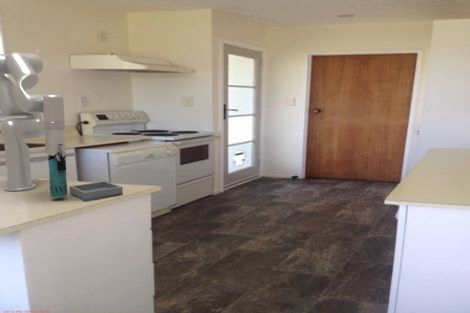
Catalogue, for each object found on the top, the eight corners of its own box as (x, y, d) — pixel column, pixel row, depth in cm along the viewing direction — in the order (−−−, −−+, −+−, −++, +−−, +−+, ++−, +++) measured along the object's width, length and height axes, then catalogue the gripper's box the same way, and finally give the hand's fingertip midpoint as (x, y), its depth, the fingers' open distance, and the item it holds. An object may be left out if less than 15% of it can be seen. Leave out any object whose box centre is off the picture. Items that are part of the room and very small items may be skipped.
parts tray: (69, 194, 165) (69, 186, 164) (105, 188, 176) (105, 181, 175) (85, 201, 153) (84, 192, 153) (122, 194, 164) (122, 186, 164)
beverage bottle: (46, 200, 155) (43, 150, 152) (58, 196, 161) (54, 148, 158) (60, 201, 153) (57, 151, 150) (71, 197, 160) (68, 149, 157)
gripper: (37, 125, 157) (40, 167, 159) (52, 127, 144) (55, 173, 147) (56, 124, 162) (59, 165, 164) (72, 126, 149) (75, 170, 152)
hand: (57, 169), depth 156 cm, fingers open, 9 cm apart
